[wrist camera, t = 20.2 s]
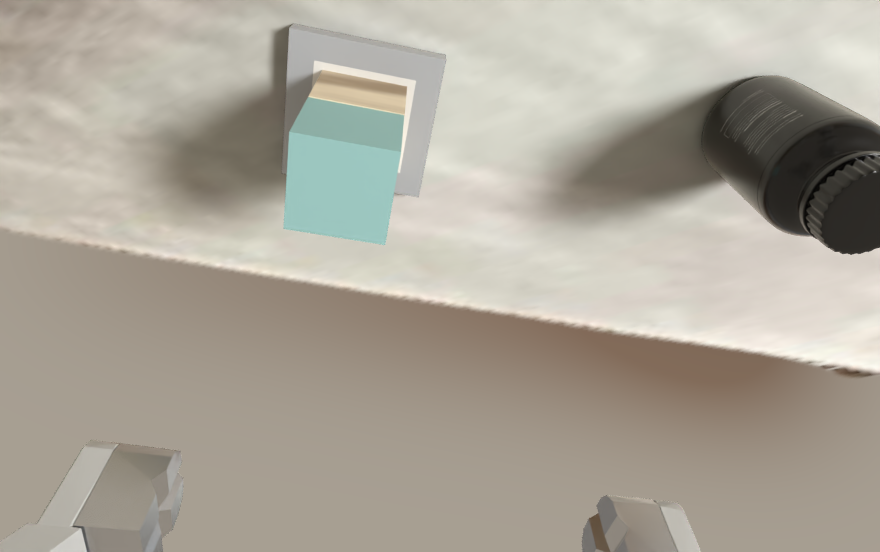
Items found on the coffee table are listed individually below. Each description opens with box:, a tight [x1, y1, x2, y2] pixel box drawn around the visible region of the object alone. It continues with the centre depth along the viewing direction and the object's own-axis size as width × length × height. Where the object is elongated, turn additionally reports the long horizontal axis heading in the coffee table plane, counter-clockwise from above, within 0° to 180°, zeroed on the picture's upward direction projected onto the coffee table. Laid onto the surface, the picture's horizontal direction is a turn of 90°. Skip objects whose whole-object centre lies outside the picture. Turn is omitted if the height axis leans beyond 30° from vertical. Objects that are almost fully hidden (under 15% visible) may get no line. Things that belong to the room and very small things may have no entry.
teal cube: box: [284, 97, 404, 245], centre depth 29 cm, size 5×5×5 cm
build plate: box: [282, 24, 446, 197], centre depth 36 cm, size 9×9×1 cm
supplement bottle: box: [702, 76, 880, 255], centre depth 33 cm, size 7×7×12 cm
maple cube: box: [308, 70, 407, 116], centre depth 33 cm, size 5×5×5 cm
